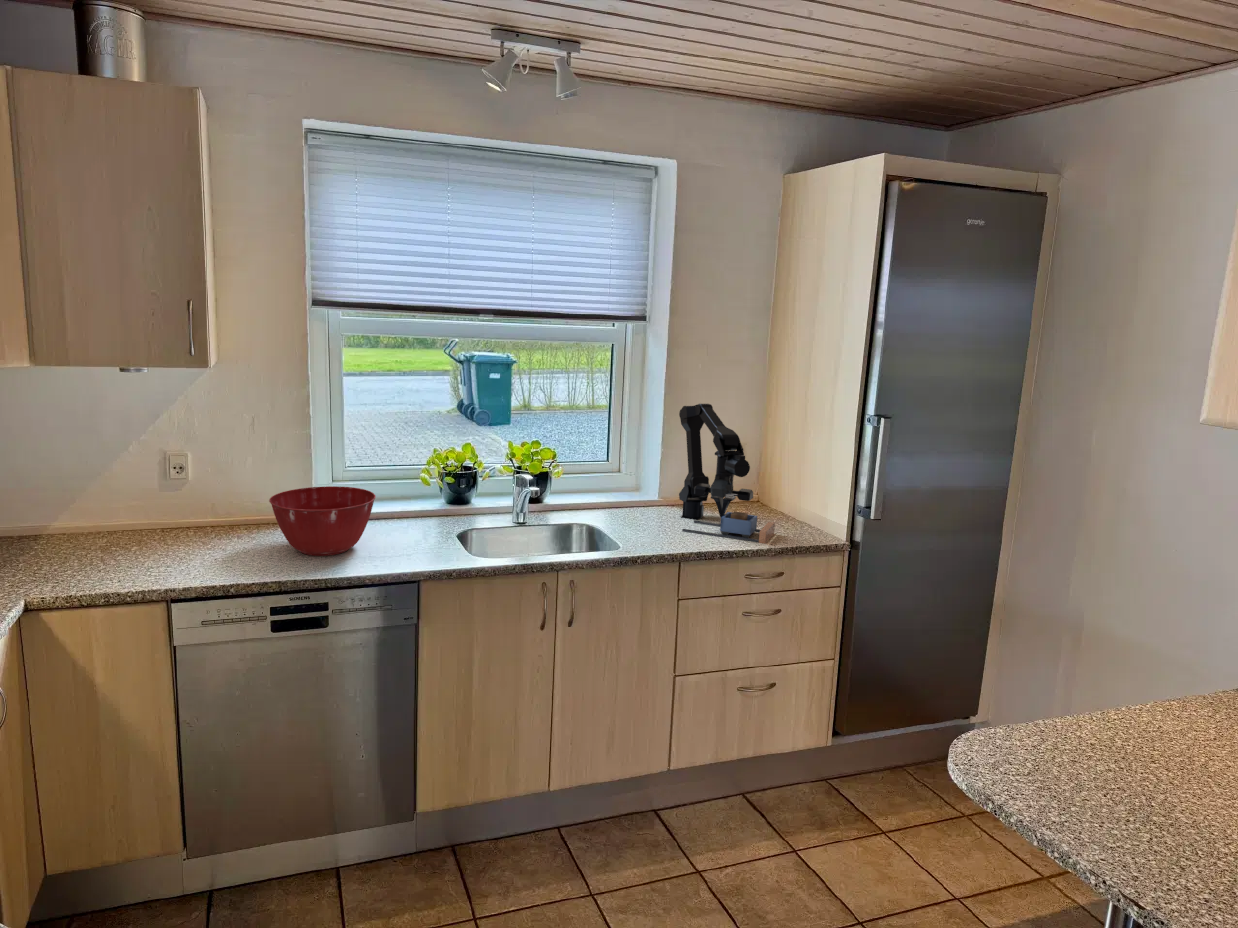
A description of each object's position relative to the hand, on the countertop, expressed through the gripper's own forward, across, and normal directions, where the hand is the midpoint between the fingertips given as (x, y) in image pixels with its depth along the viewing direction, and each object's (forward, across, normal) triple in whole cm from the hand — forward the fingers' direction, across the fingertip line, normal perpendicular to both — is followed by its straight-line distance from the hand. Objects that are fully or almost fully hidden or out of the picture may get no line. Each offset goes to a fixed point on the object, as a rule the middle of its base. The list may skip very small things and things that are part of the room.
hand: (721, 517), depth 287 cm
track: (+5, +2, 0) cm, 6 cm away
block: (+2, +6, 0) cm, 6 cm away
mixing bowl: (+6, -95, -80) cm, 124 cm away
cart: (+5, +6, 0) cm, 8 cm away
